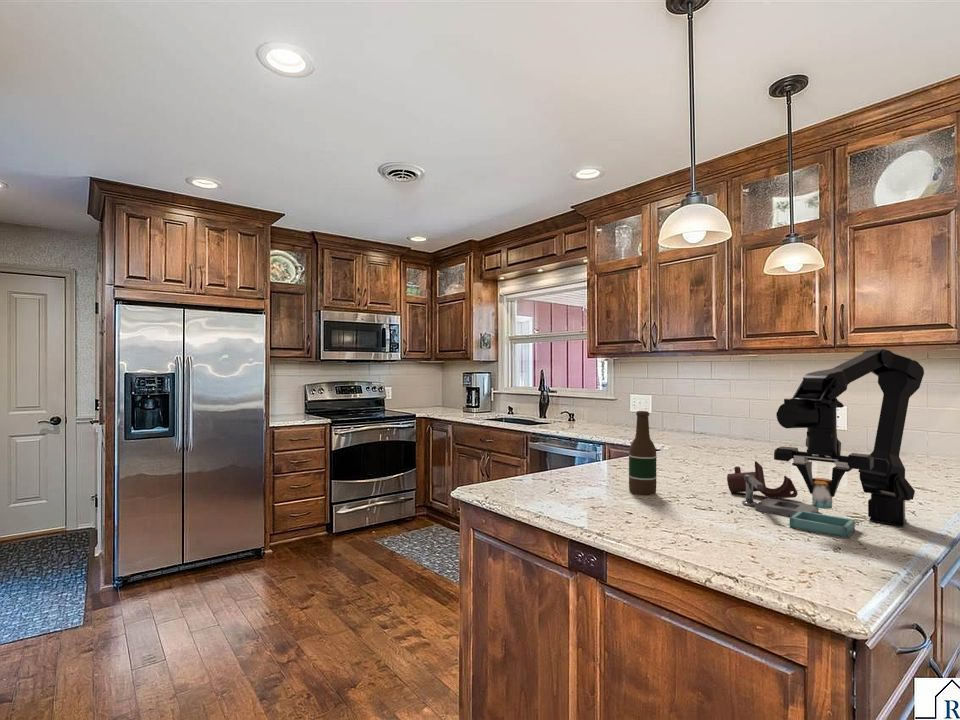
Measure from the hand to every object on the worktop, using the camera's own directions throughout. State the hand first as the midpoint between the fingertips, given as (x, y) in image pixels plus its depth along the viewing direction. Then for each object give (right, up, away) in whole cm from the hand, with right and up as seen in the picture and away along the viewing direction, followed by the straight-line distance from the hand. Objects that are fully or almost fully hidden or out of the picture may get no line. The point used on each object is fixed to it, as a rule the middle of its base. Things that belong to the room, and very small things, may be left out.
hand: (822, 495), depth 121 cm
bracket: (+3, -9, +31) cm, 32 cm away
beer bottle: (-31, -8, +34) cm, 47 cm away
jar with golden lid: (0, -3, 0) cm, 3 cm away
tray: (0, -8, 0) cm, 8 cm away
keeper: (-7, -1, +16) cm, 18 cm away
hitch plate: (-1, -8, +16) cm, 18 cm away
